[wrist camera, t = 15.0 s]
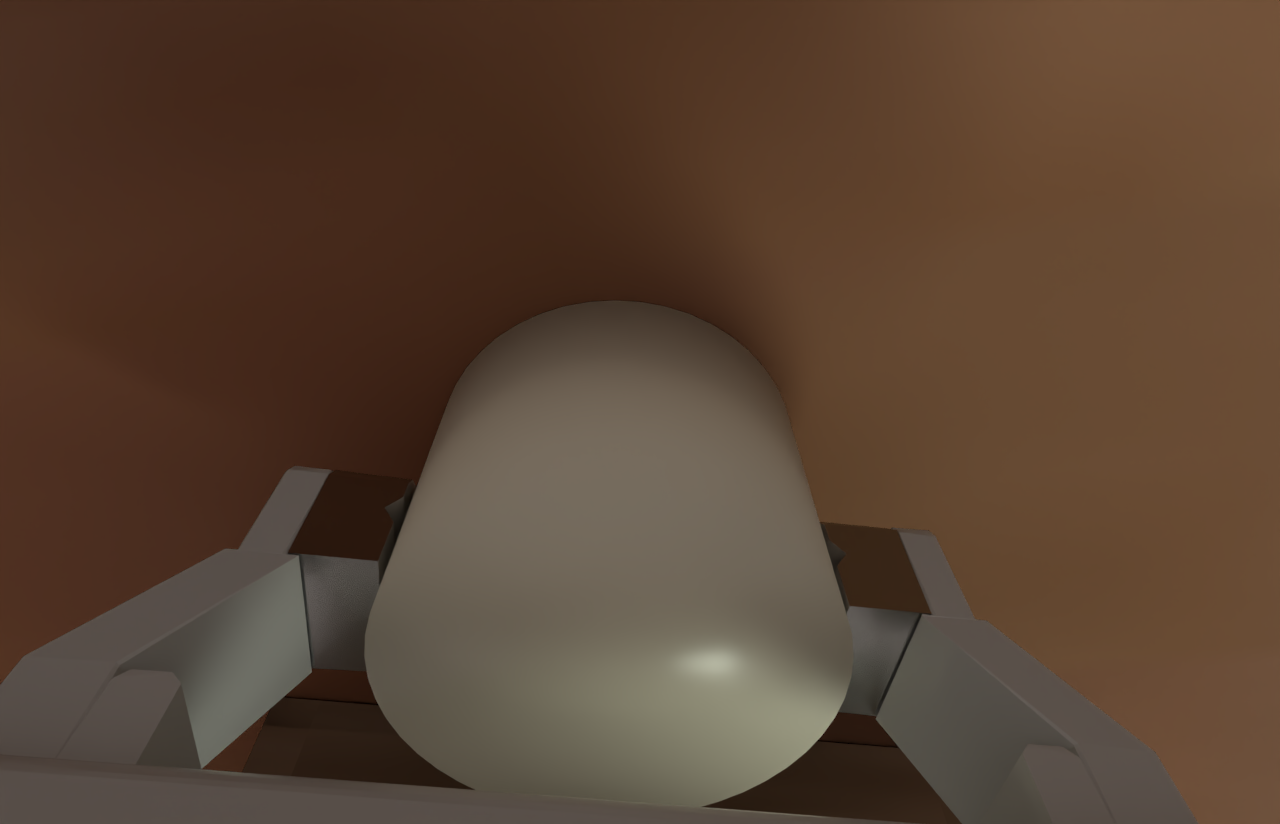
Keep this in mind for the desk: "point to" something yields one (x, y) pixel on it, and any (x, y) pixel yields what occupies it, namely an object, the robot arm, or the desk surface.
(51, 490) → the desk surface
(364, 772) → the keepsake box
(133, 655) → the robot arm
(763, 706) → the cream domed capsule
